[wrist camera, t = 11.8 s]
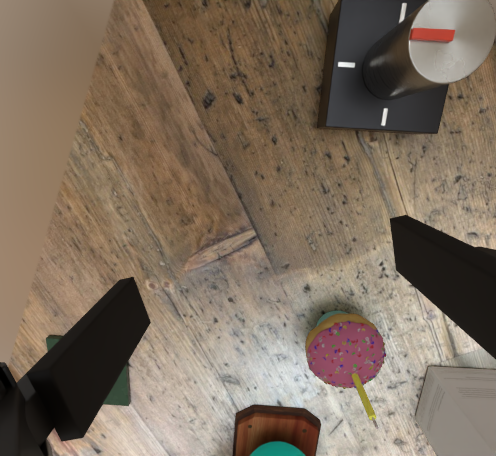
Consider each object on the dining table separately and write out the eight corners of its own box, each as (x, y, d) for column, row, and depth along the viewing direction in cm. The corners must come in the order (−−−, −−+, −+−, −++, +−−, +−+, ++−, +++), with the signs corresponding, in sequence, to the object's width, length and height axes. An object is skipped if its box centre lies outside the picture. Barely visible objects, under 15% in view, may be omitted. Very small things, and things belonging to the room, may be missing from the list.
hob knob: (429, 35, 25) (512, -15, 17) (416, 101, 26) (486, 84, 18) (367, 32, 25) (420, -19, 17) (358, 98, 26) (402, 80, 18)
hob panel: (329, 14, 28) (342, -7, 24) (438, 20, 28) (469, 0, 24) (316, 128, 31) (325, 126, 27) (415, 134, 31) (439, 133, 27)
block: (49, 334, 39) (35, 347, 36) (126, 340, 39) (117, 353, 36) (58, 396, 42) (46, 412, 39) (130, 401, 41) (122, 418, 39)
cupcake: (379, 340, 37) (433, 429, 26) (316, 365, 39) (341, 460, 27) (353, 284, 35) (399, 354, 24) (287, 312, 37) (301, 392, 25)
